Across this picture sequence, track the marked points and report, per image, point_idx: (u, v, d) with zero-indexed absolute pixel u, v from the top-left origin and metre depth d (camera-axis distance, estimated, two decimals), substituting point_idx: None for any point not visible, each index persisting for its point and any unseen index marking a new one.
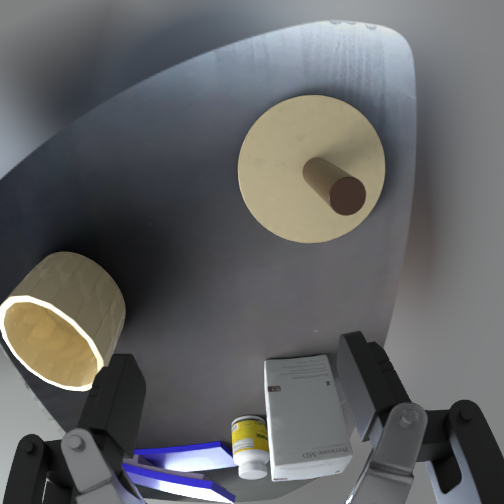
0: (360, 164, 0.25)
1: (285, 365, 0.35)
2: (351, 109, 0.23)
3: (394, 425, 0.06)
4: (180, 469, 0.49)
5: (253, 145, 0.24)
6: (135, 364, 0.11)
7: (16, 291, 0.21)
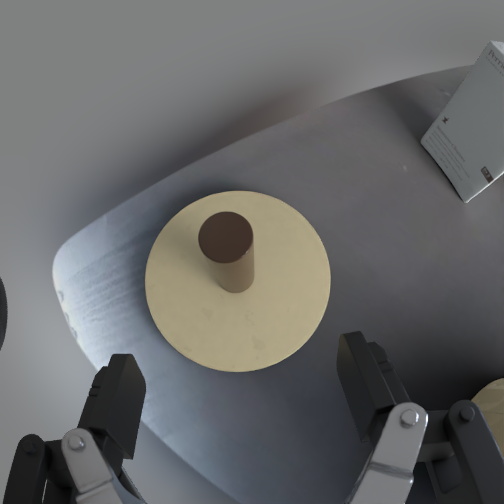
0: None
1: (457, 177, 0.24)
2: (148, 274, 0.21)
3: (394, 425, 0.06)
4: None
5: (242, 359, 0.19)
6: (135, 364, 0.11)
7: None
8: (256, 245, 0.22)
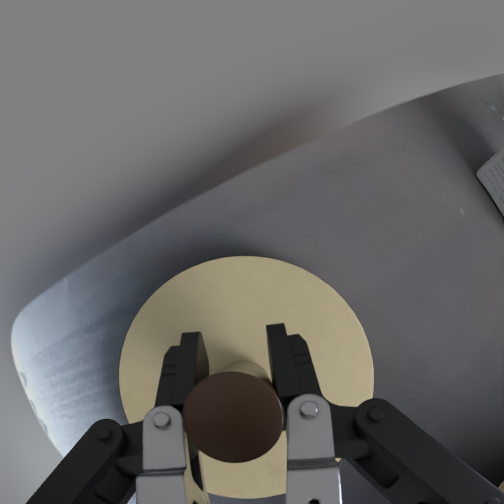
0: (192, 321, 0.15)
1: None
2: (122, 377, 0.14)
3: (296, 420, 0.07)
4: None
5: (253, 486, 0.12)
6: (203, 342, 0.12)
7: None
8: None
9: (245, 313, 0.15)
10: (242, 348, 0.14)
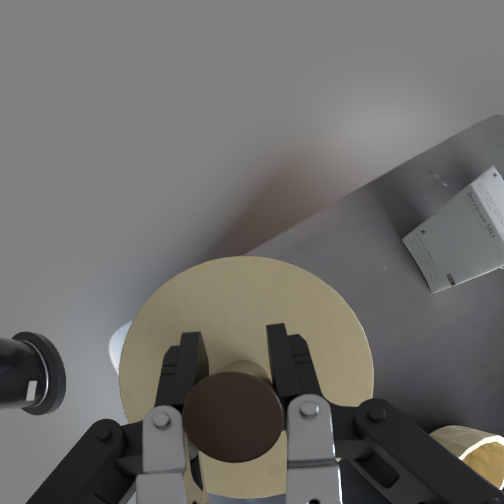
0: (192, 321, 0.15)
1: (428, 274, 0.32)
2: (122, 377, 0.14)
3: (297, 420, 0.07)
4: None
5: (253, 486, 0.12)
6: (203, 342, 0.12)
7: None
8: None
9: (245, 313, 0.15)
10: (242, 348, 0.14)
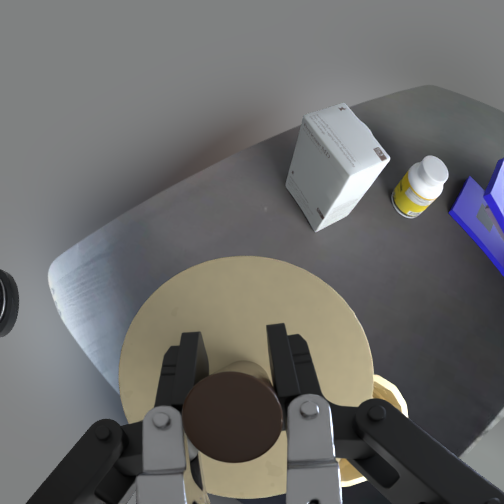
0: (191, 321, 0.15)
1: (307, 213, 0.39)
2: (122, 377, 0.14)
3: (297, 420, 0.07)
4: None
5: (252, 486, 0.12)
6: (203, 342, 0.12)
7: None
8: None
9: (245, 313, 0.15)
10: (242, 348, 0.14)
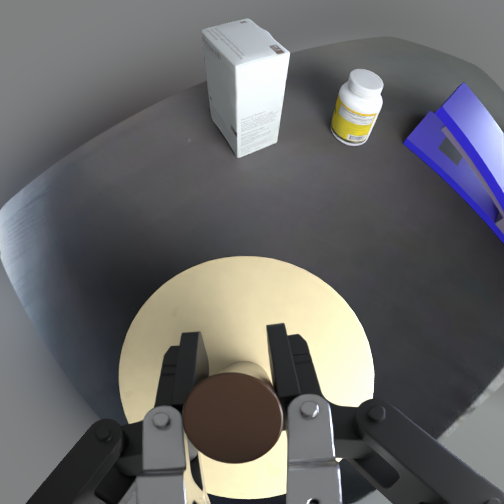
0: (192, 321, 0.15)
1: (228, 139, 0.35)
2: (122, 377, 0.14)
3: (297, 420, 0.07)
4: None
5: (253, 487, 0.12)
6: (202, 342, 0.12)
7: None
8: None
9: (245, 313, 0.15)
10: (242, 348, 0.14)
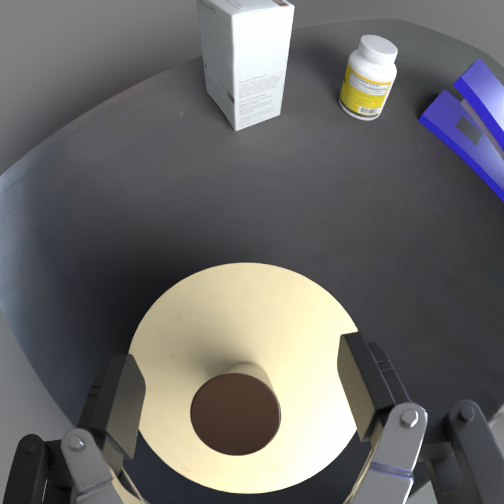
0: (196, 325, 0.16)
1: (225, 110, 0.30)
2: None
3: (394, 425, 0.06)
4: None
5: (254, 482, 0.13)
6: (135, 364, 0.11)
7: None
8: (273, 345, 0.15)
9: (246, 317, 0.16)
10: (243, 350, 0.15)
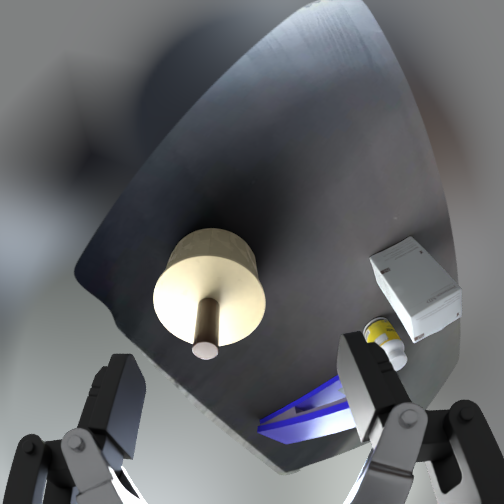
0: (235, 287, 0.34)
1: (385, 254, 0.43)
2: (205, 257, 0.32)
3: (394, 425, 0.06)
4: None
5: (161, 308, 0.35)
6: (135, 364, 0.11)
7: None
8: (227, 315, 0.36)
9: (239, 306, 0.36)
10: (224, 305, 0.35)
